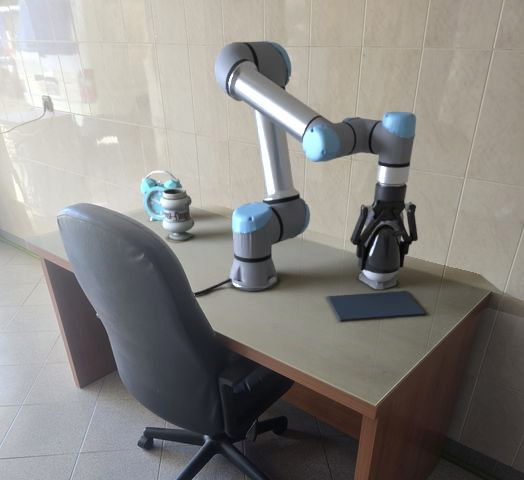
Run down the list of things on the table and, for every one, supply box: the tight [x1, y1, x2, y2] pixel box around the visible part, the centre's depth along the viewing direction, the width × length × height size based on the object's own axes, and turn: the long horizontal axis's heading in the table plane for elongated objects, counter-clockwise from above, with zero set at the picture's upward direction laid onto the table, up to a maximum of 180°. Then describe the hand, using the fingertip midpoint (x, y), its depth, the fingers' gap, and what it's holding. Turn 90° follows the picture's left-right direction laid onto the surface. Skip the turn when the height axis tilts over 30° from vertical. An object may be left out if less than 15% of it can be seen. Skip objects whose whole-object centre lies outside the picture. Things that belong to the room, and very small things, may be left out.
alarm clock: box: [140, 169, 183, 222], centre depth 196 cm, size 17×10×20 cm, turn 80°
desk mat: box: [327, 290, 426, 322], centre depth 133 cm, size 24×14×1 cm, turn 97°
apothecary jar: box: [160, 187, 195, 243], centre depth 178 cm, size 12×12×18 cm
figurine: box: [358, 210, 405, 290], centre depth 140 cm, size 10×14×25 cm
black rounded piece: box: [363, 223, 405, 282], centre depth 124 cm, size 10×10×15 cm
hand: (380, 267), depth 127 cm, fingers closed on black rounded piece, 10 cm apart
